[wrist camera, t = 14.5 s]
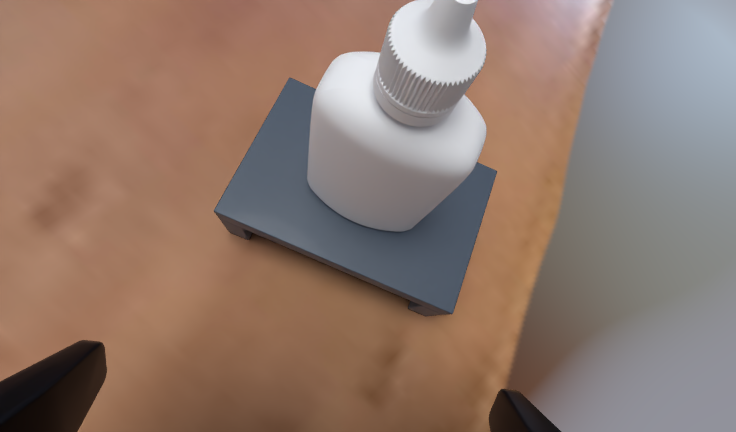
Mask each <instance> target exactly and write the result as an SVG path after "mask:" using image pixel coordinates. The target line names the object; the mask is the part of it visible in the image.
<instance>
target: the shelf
mask: <svg viewBox="0 0 736 432" xmlns="http://www.w3.org/2000/svg"><path fill="white" fill-rule="evenodd" d="M315 91H316V89H314V88H312V87H310V86H308V85H305V84H303V83H301V82H299V81H296V80H294V79H292V78H289V79H288V81H287V83H286V85H285V86H284V88H283V90H282V92H281V93H280V95H279V97H278V99H277V100H276V102H275V104H274V106H273V108H272V109H271V111H270V113H269V115H268V116H267V118H266V120H265V122H264V123H263V125H262V127H261V129H260V130H259V132H258V134H257V136H256V137H255V139H254V141H253V143H252V144H251V146H250V148H249V150H248V152H247V153H246V155H245V157H244V159H243V160H242V162H241V164H240V166H239V167H238V169H237V171H236V173H235V174H234V176H233V178H232V180H231V181H230V183H229V185H228V187H227V188H226V190H225V192H224V194H223V195H222V197H221V199H220V201H219V203H218V204H217V206H216V208H215V210H214V212H215V213H216V215H217V216H218V217H219V219H220V220H221V221H222V223H223V224H224V226H225V227H226V228H227V230H228V231H229V232H230V233H233V234H235V235H237V236H240V237H242V238H244V239H247V240H249V239H250V237H251V235H252V233H255V234H257V235H259V236H261V237H264V238H266V239H268V240H271V241H273V242H275V243H278V244H280V245H282V246H285V247H287V248H289V249H292V250H294V251H296V252H299V253H301V254H303V255H306V256H308V257H310V258H313V259H315V260H317V261H320V262H322V263H324V264H327V265H329V266H331V267H334V268H336V269H338V270H340V271H343V272H345V273H347V274H350V275H352V276H354V277H357V278H359V279H361V280H364V281H366V282H368V283H371V284H373V285H375V286H378V287H380V288H382V289H385V290H387V291H389V292H392V293H394V294H396V295H399V296H401V297H403V298H406V299H408V300H410V303H409V306H408V309H410V310H412V311H415V312H417V313H419V314H422V315H424V316H433V315H447V314H453V311H454V308H455V305H456V302H457V299H458V295H459V292H460V289H461V286H462V283H463V279H464V276H465V273H466V270H467V266H468V263H469V260H470V257H471V254H472V250H473V247H474V244H475V241H476V238H477V234H478V231H479V228H480V225H481V222H482V218H483V215H484V212H485V209H486V206H487V202H488V199H489V196H490V193H491V190H492V186H493V183H494V180H495V177H496V174H497V171H496V170H493V169H491V168H489V167H487V166H484V165H482V164H480V163H478V162H477V163H476V165H475V167H474V169H473V170H472V172H471V173H470V174H469V175H468V176H467V178H466V179H465V180H464V181H463V182H462V183H461V184H460V185H459V186H458V187H457V188H456V189H455V190H454V191H453V192H452V193H450V194H449V195H448V196H447V197H446V198H445V199H444V200H443V201H442V202H441V203H439V204H438V205H437V206H436V207H435V208H434V209H433V210H432V211H431V212H430V213H428V214H427V215H426V216H425V217H424V218H423V219H422V220H421V221H420V222H418V223H417V224H416V225H415V226H414V227H413V228H412V229H410V230H407V231H403V232H394V231H384V230H378V229H374V228H370V227H366V226H363V225H360V224H358V223H355V222H353V221H351V220H349V219H347V218H345V217H343V216H342V215H340V214H339V213H337V212H336V211H334V210H333V209H331V208H330V207H329V206H328V205H326V204H325V203H324V202H323V201H322V200H321V199H320V198H319V197H318V196H317V195H316V194H315V193H314V192H313V190H312V189H311V188H310V186H309V184H308V181H307V171H308V153H309V138H310V123H311V113H312V104H313V98H314V94H315Z"/></svg>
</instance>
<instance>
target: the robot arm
mask: <svg viewBox="0 0 736 432" xmlns="http://www.w3.org/2000/svg"><path fill="white" fill-rule="evenodd" d="M106 373H107V367H106V356H105V347H104V345H103V343H101V342H97V341H88V340H82V341H79V342H77V343H75V344H73V345H71V346H69V347H67V348H65V349H63V350H61V351H59V352H57V353H55V354H53V355H51V356H49V357H47V358H45V359H43V360H41V361H39V362H38V363H36V364H34V365H32V366H30V367H28V368H26V369H24V370H22V371H20V372H18V373H16V374H14V375H12V376H10V377H8V378H6V379H4V380H2V381H1V382H0V432H77V431H78V429H79V428H80V426H81V424H82V422H83V420H84V418H85V416H86V415H87V413H88V411H89V409H90V407H91V405H92V403H93V401H94V400H95V398H96V396H97V394H98V392H99V390H100V388H101V387H102V385H103V383H104V381H105V378H106ZM489 425H490V431H491V432H561V431H560V430H559V429H558V428H557V427H556V426H555V425H554V424H553V423H551V422H550V421H549V420H548V419H547V418H546V417H545V416H544V415H543V414H542V413H541V412H540V411H539V410H538V409H537V408H536V407H535V406H534V405H533V404H531V402H530V401H528V400H527V399H526V398H525V397H524V396H523V395H522V394H521V393H520V392H519V391H516V390H509V389H501V390H500V391H499V392H498V394H497V397H496V399H495V401H494V404H493V406H492V408H491V411H490V414H489Z"/></svg>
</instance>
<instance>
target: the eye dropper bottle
mask: <svg viewBox="0 0 736 432" xmlns="http://www.w3.org/2000/svg"><path fill="white" fill-rule="evenodd" d="M477 1H478V0H416V1H413V2H410V3H408V4H406V5H405V6H402V8H400V9H399V10H398V11H397V12H396V13H395V15H393V18H392V19H391V21H390V23H389V26H388V29H387V33H386V36H385V39H384V43H383V46H382V50H381V53H378V52H350V53H345V54H341V55H340V56H338V57H337V58H336V59H334V60H333V62H332V63H331V64H330V66H329V67H328V69H327V71H326V72H325V74H324V76H323V78H322V79H321V81H320V83H319V85H318V87H317V89H316V91H315V94H314V98H313V104H312V113H311V123H310V138H309V153H308V171H307V181H308V184H309V186H310V188H311V189H312V190H313V192H314V193H315V194H316V195H317V196H318V197H319V198H320V199H321V200H322V201H323V202H324V203H325V204H326V205H328V206H329V207H330V208H331V209H333V210H334V211H336V212H337V213H339V214H340V215H342V216H343V217H345V218H347V219H349V220H351V221H353V222H355V223H358V224H360V225H363V226H366V227H370V228H374V229H378V230H384V231H394V232H403V231H407V230H410V229H412V228H413V227H414V226H415V225H416V224H417V223H418V222H420V221H421V220H422V219H423V218H424V217H425V216H426V215H427V214H428V213H430V212H431V211H432V210H433V209H434V208H435V207H436V206H437V205H438V204H439V203H441V202H442V201H443V200H444V199H445V198H446V197H447V196H448V195H449V194H450V193H452V192H453V191H454V190H455V189H456V188H457V187H458V186H459V185H460V184H461V183H462V182H463V181H464V180H465V179H466V178H467V176H468V175H469V174H470V173H471V172H472V170H473V169H474V167H475V165H476V163H477V161H478V158H479V155H480V153H481V150H482V148H483V145H484V142H485V138H486V124H485V122H484V120H483V118H482V116H481V114H480V113H479V112H478V110H477V109H476V107H475V106H474V105H473V104H472V102H471V101H470V100H469V99H468V98H467V97H466V96H465V95H464V94H465V92H466V91H467V89H468V88H469V87H470V85H471V84H472V82H473V81H474V79H475V78H476V77H477V75H478V74H479V72H480V71H481V69H482V68H483V65H484V61H485V60H486V57H485V56H486V51H487V50H486V44H485V39H484V36H483V34H482V32H481V30H480V28H479V26H478V25H477V23H476V22H475V21H474V20H473V15H474V11H475V8H476V5H477Z"/></svg>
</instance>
